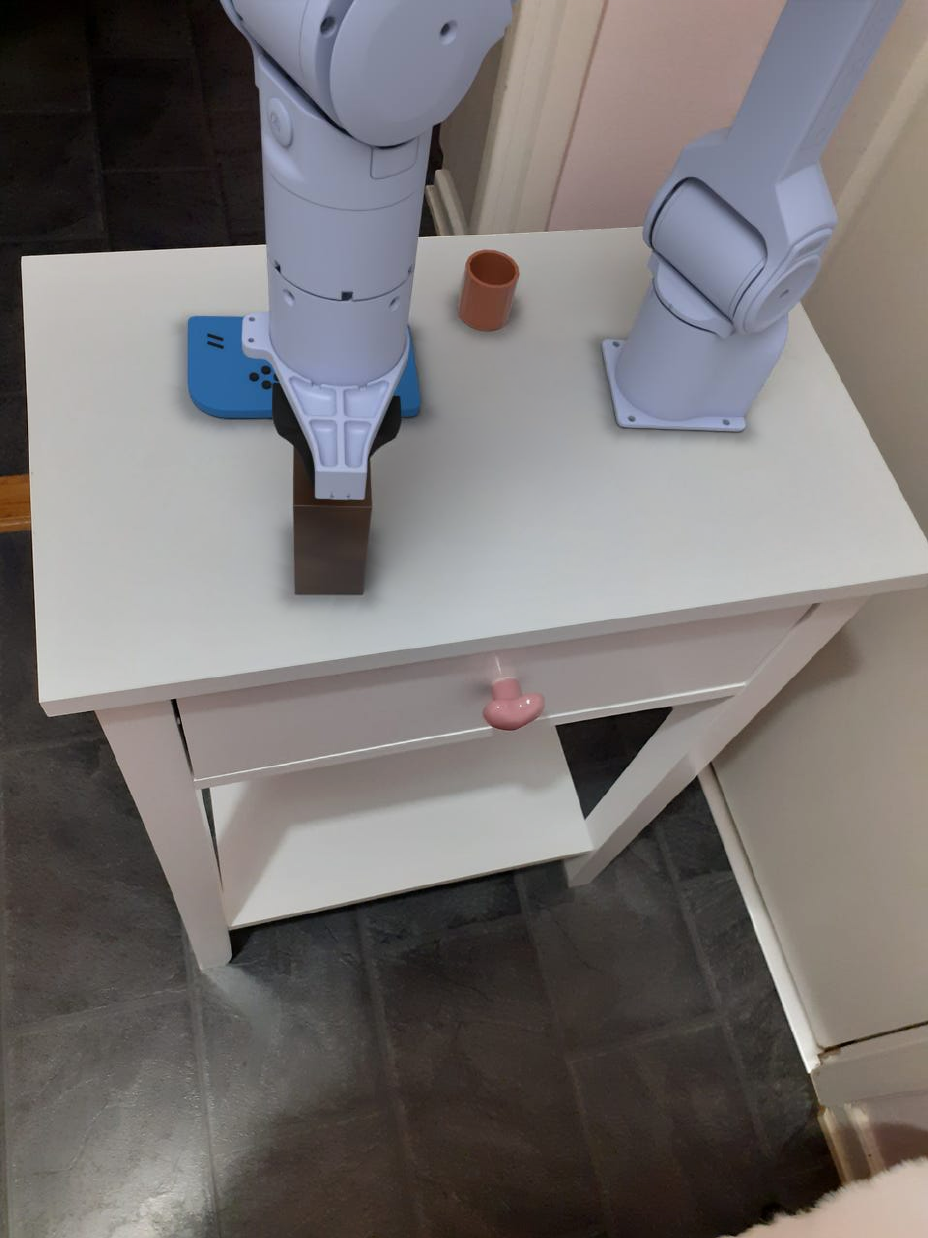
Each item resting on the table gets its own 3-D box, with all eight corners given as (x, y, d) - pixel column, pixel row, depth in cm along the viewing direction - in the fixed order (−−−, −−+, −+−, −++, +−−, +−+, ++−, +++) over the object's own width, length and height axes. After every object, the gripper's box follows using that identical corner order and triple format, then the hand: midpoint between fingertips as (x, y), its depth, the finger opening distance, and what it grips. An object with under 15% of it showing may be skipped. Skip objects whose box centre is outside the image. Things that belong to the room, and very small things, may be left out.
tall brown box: (361, 538, 57) (369, 445, 49) (362, 595, 55) (372, 507, 47) (294, 537, 56) (293, 442, 48) (294, 594, 54) (292, 505, 46)
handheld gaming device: (187, 311, 62) (408, 314, 65) (188, 324, 63) (407, 326, 66) (186, 407, 58) (422, 405, 61) (188, 418, 59) (420, 417, 62)
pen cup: (505, 295, 69) (516, 251, 66) (511, 332, 67) (522, 289, 64) (455, 292, 68) (463, 247, 65) (459, 329, 67) (468, 286, 63)
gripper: (241, 120, 38) (256, 357, 50) (227, 388, 31) (248, 589, 43) (411, 135, 39) (386, 363, 51) (433, 396, 33) (399, 590, 44)
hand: (332, 467), depth 47 cm, fingers closed
